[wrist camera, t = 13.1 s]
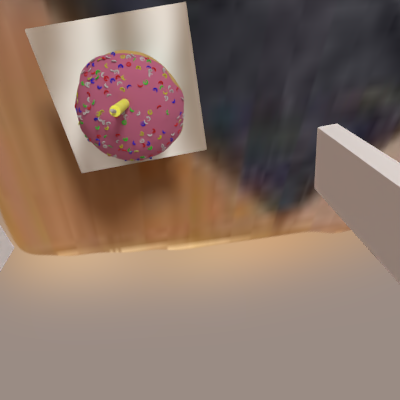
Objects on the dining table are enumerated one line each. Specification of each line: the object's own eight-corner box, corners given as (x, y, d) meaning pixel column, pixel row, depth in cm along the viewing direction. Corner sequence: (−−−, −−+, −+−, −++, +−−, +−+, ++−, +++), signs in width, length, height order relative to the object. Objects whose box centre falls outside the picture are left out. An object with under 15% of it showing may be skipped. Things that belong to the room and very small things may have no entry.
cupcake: (68, 59, 26) (14, 92, 16) (165, 31, 26) (174, 46, 16) (108, 150, 31) (86, 221, 20) (190, 127, 30) (210, 186, 20)
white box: (178, 3, 32) (185, 1, 25) (197, 125, 39) (206, 149, 32) (52, 24, 31) (24, 29, 24) (94, 144, 38) (81, 173, 31)
